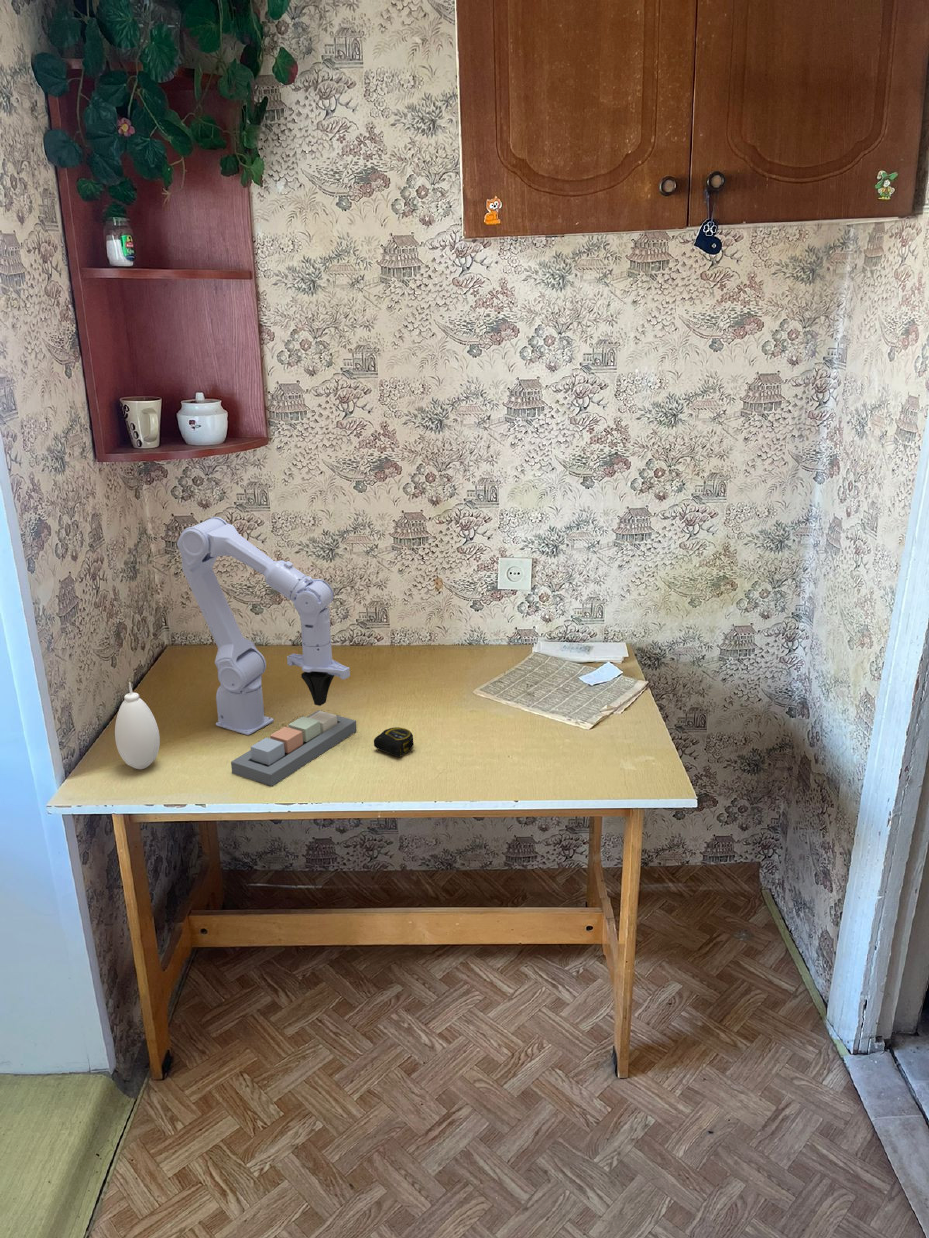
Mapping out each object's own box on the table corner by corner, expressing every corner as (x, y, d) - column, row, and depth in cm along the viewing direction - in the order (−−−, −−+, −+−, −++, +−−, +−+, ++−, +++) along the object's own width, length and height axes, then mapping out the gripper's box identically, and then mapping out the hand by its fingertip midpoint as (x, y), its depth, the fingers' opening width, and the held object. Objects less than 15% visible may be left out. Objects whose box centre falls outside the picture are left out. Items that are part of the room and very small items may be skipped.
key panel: (232, 773, 180) (230, 761, 179) (319, 720, 201) (318, 710, 200) (271, 786, 175) (270, 774, 174) (356, 731, 196) (356, 720, 195)
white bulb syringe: (147, 753, 188) (136, 670, 182) (170, 765, 183) (159, 680, 177) (112, 768, 182) (99, 683, 176) (135, 781, 178) (122, 694, 172)
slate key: (251, 759, 180) (250, 746, 179) (267, 750, 184) (266, 737, 183) (269, 765, 178) (268, 752, 177) (284, 755, 182) (283, 742, 181)
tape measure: (372, 751, 188) (371, 735, 187) (396, 739, 193) (395, 722, 192) (397, 762, 184) (396, 745, 183) (420, 749, 189) (420, 732, 188)
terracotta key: (271, 748, 185) (269, 735, 184) (286, 739, 188) (285, 726, 187) (288, 753, 182) (287, 740, 181) (303, 744, 186) (302, 731, 185)
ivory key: (307, 731, 194) (306, 718, 193) (320, 722, 197) (320, 710, 196) (324, 736, 191) (323, 723, 190) (337, 727, 195) (336, 715, 194)
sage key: (289, 737, 189) (288, 724, 188) (303, 728, 192) (302, 716, 191) (306, 742, 187) (305, 729, 186) (320, 733, 190) (319, 720, 189)
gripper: (275, 641, 188) (280, 702, 193) (332, 655, 181) (336, 719, 186) (298, 630, 194) (302, 690, 198) (355, 643, 187) (357, 705, 191)
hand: (320, 703), depth 192 cm, fingers closed
